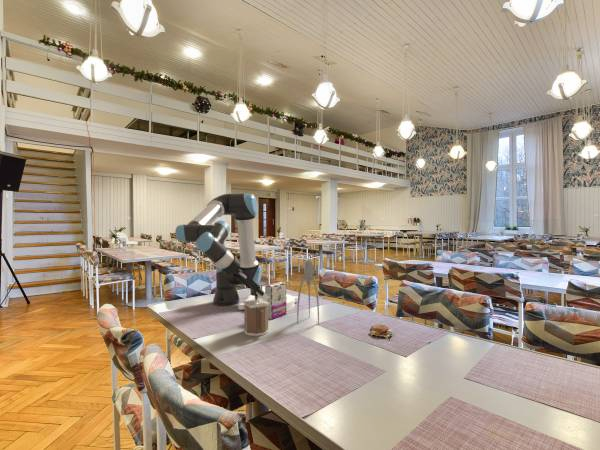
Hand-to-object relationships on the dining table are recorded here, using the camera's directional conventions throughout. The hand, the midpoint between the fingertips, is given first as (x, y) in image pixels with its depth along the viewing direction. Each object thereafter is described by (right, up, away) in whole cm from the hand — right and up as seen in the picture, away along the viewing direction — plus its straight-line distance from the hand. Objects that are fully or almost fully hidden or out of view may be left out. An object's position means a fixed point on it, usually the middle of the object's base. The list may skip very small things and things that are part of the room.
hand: (264, 297), depth 137 cm
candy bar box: (+4, -14, +21) cm, 25 cm away
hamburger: (+51, -15, -6) cm, 54 cm away
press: (-3, -15, -3) cm, 15 cm away
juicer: (+20, -15, +14) cm, 28 cm away
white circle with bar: (-1, -15, +39) cm, 42 cm away
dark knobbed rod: (-3, -12, -2) cm, 13 cm away
